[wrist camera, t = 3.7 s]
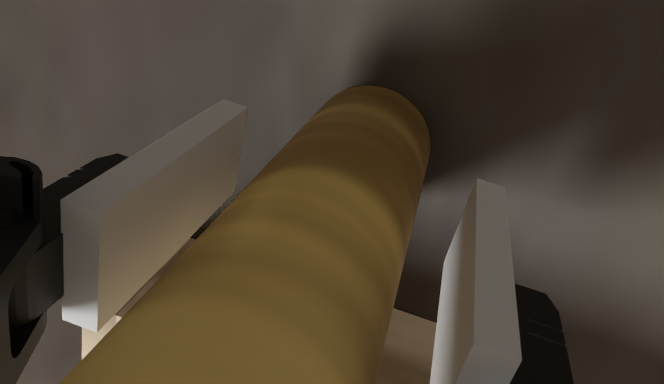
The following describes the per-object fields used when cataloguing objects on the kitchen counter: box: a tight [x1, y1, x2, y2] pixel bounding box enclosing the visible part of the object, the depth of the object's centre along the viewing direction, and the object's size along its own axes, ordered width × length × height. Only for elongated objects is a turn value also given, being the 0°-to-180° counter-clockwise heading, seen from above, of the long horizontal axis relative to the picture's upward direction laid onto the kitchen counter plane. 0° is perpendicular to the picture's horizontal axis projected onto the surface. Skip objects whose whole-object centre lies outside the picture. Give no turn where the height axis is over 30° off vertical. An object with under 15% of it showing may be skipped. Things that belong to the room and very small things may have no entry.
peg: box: [60, 85, 431, 384], centre depth 12 cm, size 4×4×14 cm
